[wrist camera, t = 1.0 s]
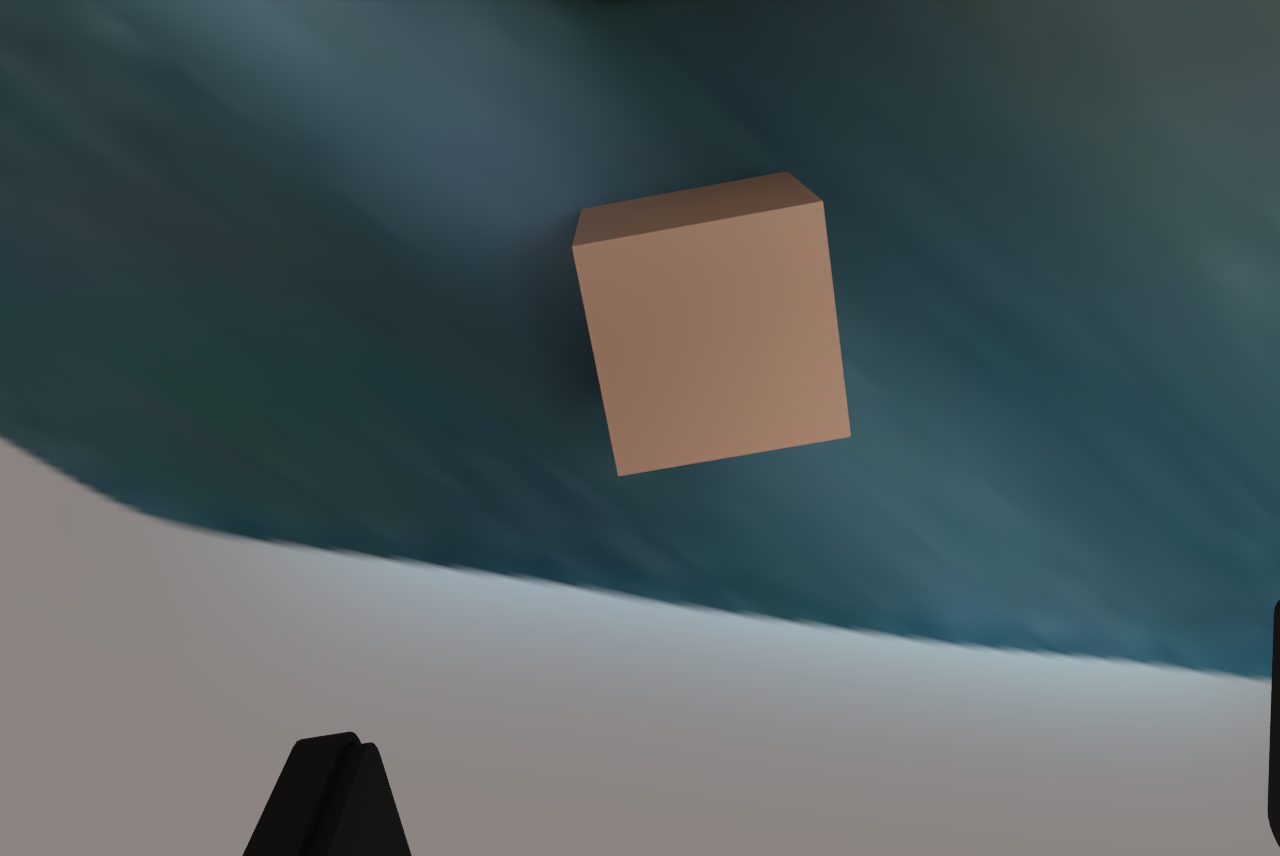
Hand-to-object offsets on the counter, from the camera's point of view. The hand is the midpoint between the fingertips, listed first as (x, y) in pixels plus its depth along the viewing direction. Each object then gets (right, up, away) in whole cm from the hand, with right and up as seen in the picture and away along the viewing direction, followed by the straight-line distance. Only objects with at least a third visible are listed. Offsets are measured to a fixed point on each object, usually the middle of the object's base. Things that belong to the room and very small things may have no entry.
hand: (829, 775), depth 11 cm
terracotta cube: (0, +8, +21) cm, 22 cm away
